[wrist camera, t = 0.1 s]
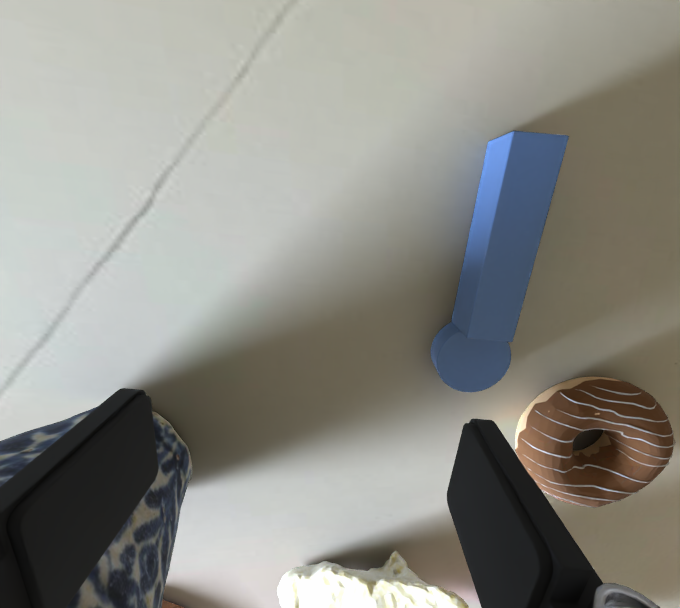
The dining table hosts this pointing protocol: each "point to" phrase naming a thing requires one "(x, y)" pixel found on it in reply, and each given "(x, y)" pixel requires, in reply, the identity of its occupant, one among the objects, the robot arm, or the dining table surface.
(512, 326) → the spoon
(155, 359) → the dining table surface
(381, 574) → the cheese
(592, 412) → the donut
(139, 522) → the jug
